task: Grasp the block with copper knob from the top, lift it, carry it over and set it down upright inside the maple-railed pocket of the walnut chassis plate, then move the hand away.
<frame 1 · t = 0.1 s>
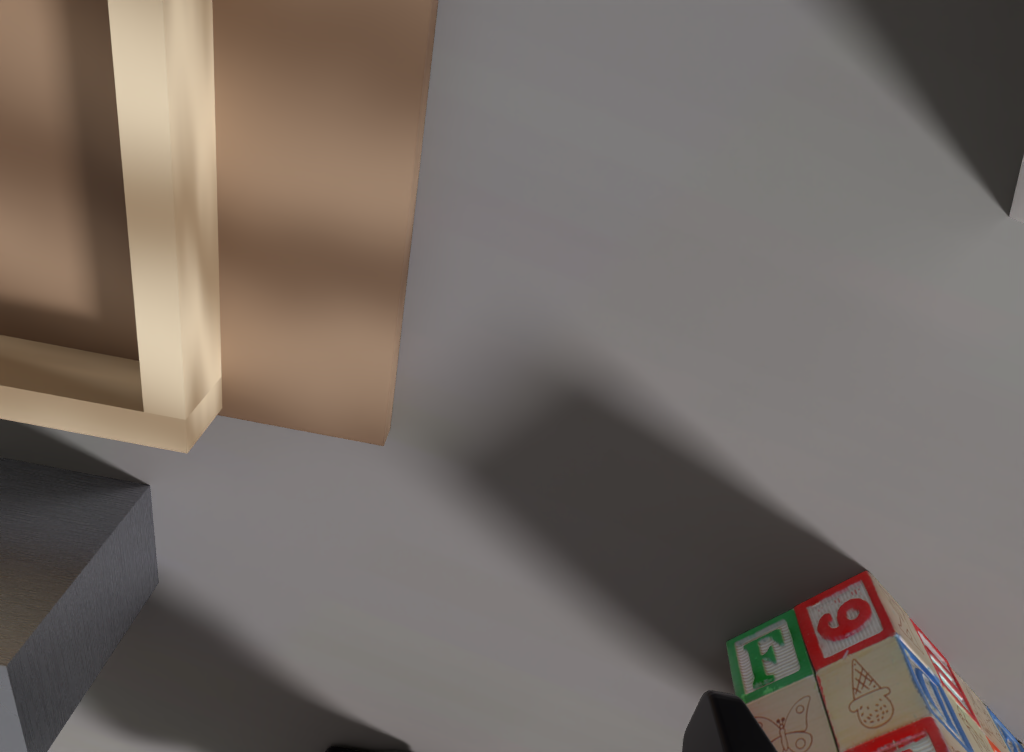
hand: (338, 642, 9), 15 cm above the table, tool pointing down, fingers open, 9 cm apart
block with copper knob: (63, 518, 29), on the table
chassis bay: (35, 160, 22), on the table
stack of blocks: (929, 743, 32), on the table
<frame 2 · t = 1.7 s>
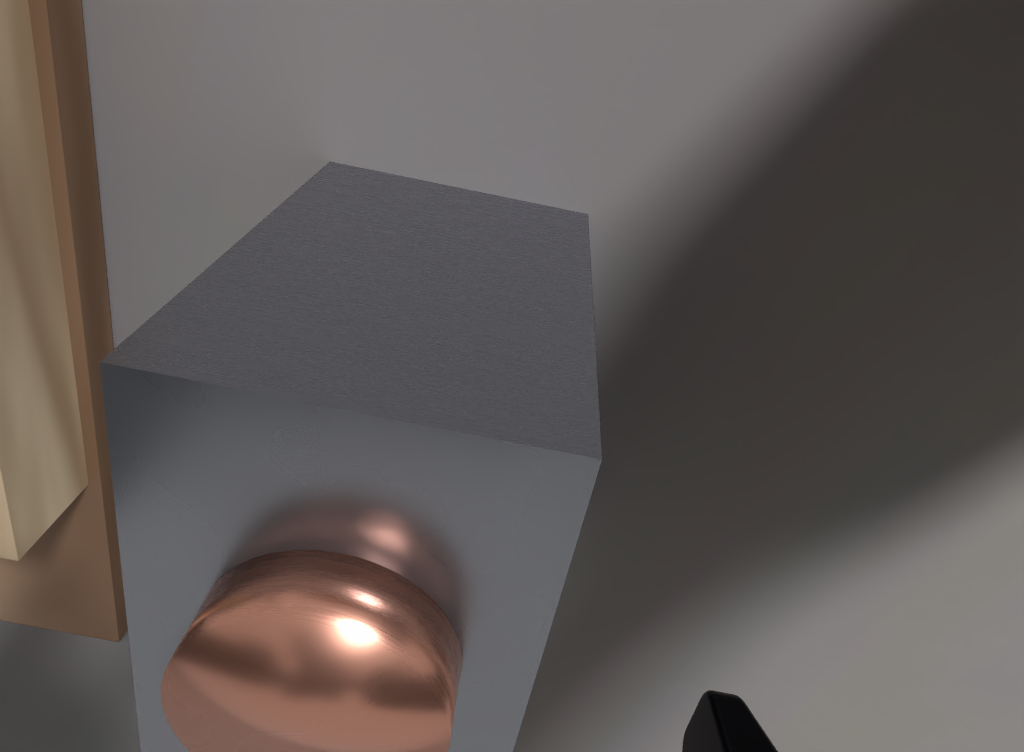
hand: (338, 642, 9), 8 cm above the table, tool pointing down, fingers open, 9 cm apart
block with copper knob: (435, 347, 16), on the table
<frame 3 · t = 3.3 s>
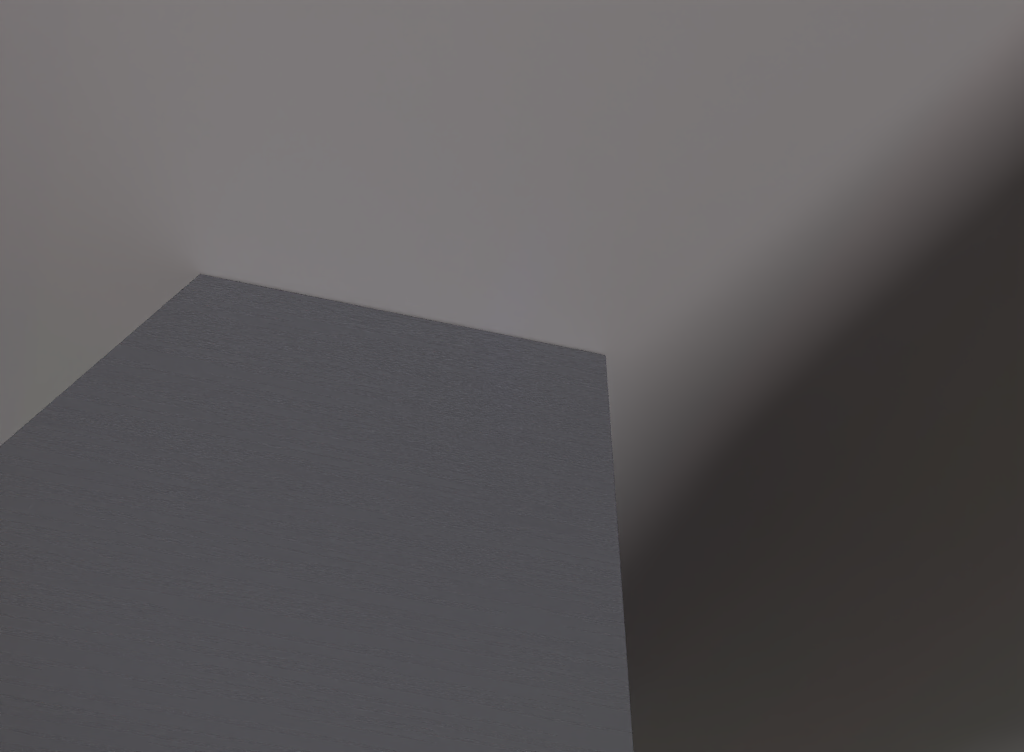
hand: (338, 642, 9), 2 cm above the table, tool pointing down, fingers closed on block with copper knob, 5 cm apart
block with copper knob: (377, 530, 11), on the table, touching gripper
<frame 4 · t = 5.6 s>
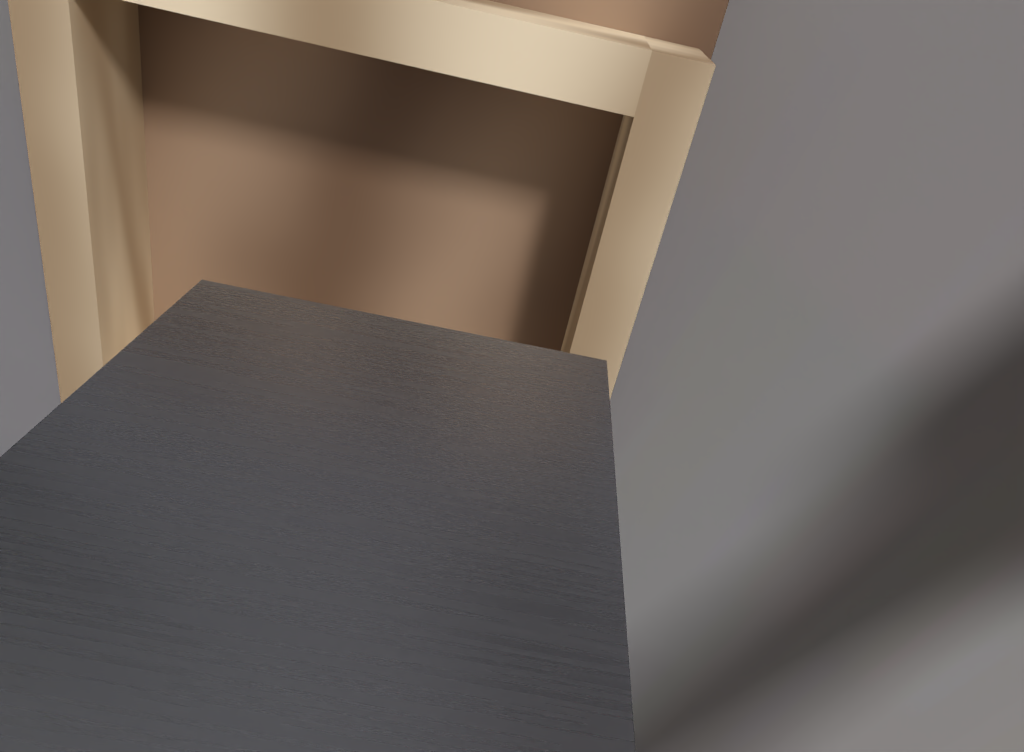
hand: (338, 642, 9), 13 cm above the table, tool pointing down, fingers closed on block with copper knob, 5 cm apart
block with copper knob: (378, 534, 11), point 11 cm above the table, touching gripper
chassis bay: (374, 218, 20), on the table
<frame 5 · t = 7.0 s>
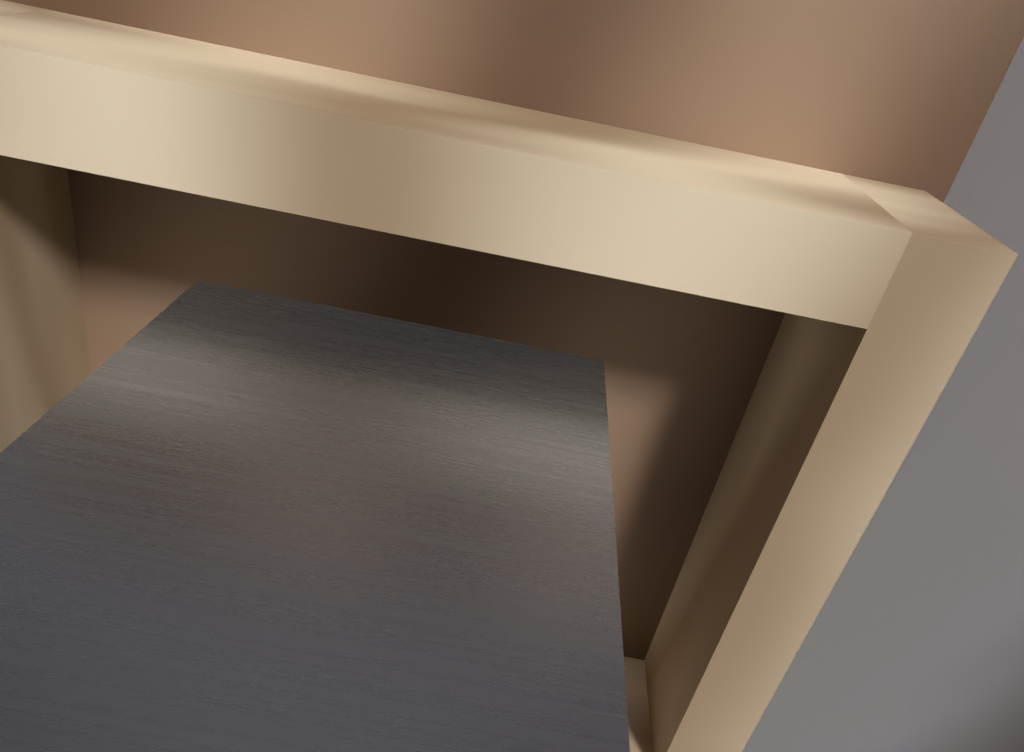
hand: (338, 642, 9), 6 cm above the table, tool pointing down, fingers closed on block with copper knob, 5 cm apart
block with copper knob: (376, 534, 11), point 4 cm above the table, touching gripper
chassis bay: (415, 402, 14), on the table
when the fingers open (4 cm above the table, at t = 8.0 s): block with copper knob drops 1 cm, resting on chassis bay.
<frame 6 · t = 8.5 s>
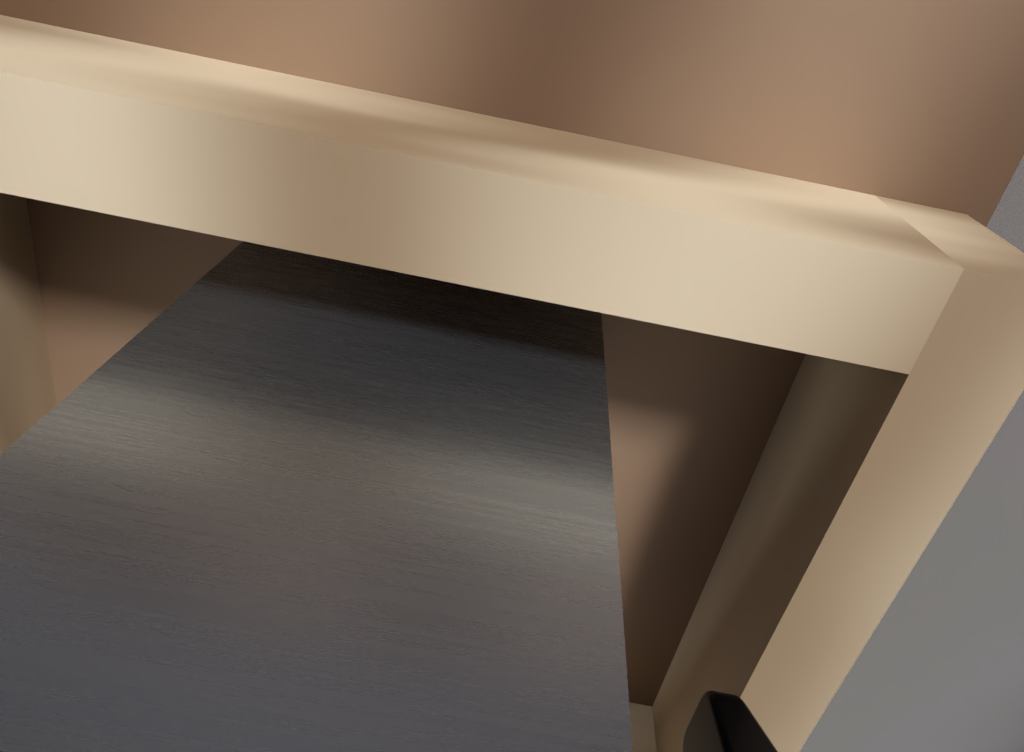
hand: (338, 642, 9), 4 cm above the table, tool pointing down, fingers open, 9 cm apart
block with copper knob: (397, 472, 12), point 1 cm above the table, touching chassis bay
chassis bay: (408, 434, 13), on the table
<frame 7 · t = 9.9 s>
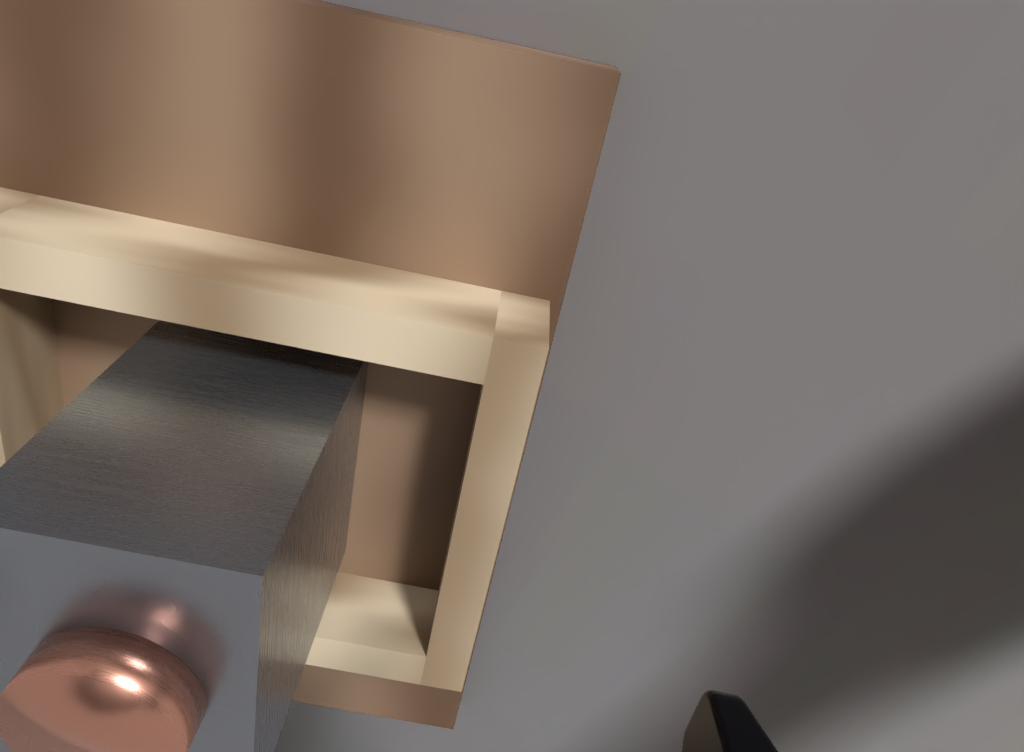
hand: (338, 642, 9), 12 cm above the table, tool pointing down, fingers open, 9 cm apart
block with copper knob: (266, 440, 21), point 1 cm above the table, touching chassis bay
chassis bay: (277, 418, 21), on the table
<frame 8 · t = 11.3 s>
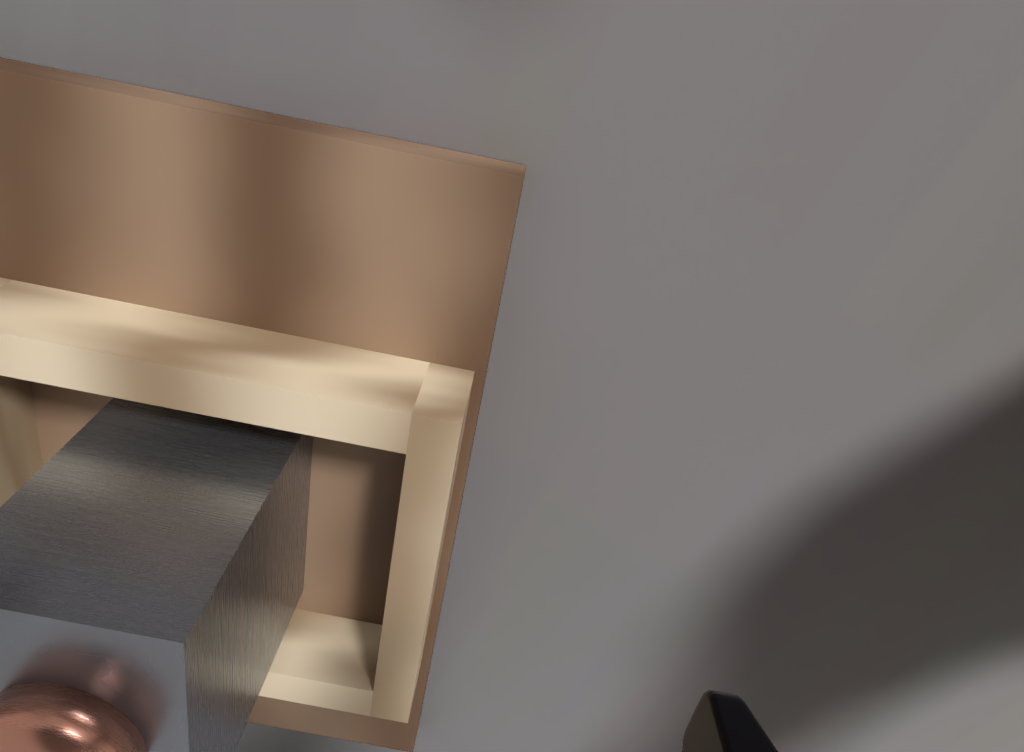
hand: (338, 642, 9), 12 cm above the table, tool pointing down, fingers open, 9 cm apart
block with copper knob: (226, 491, 22), point 1 cm above the table, touching chassis bay
chassis bay: (238, 469, 23), on the table
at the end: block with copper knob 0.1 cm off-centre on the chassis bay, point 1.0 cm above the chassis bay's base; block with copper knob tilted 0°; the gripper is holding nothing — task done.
